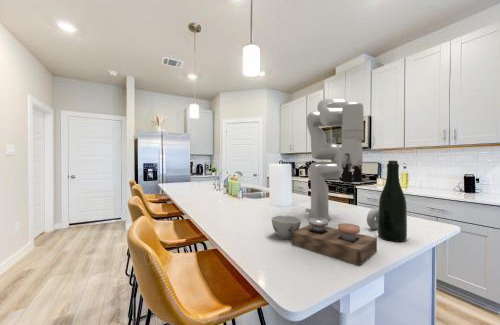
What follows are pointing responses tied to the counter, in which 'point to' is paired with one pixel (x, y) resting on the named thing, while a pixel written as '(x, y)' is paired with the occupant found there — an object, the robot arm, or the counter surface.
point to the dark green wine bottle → (392, 207)
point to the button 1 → (318, 225)
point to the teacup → (285, 225)
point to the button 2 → (348, 231)
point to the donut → (373, 218)
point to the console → (336, 244)
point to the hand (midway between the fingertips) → (352, 181)
